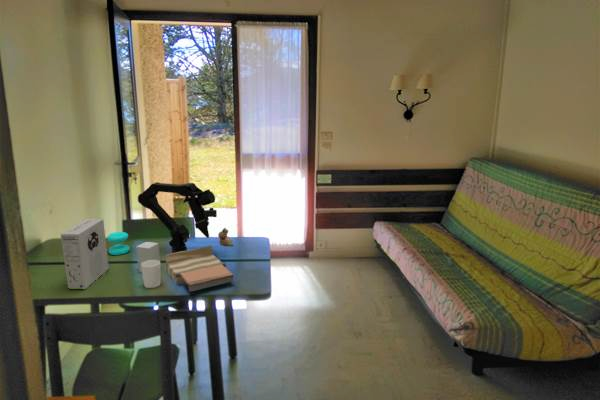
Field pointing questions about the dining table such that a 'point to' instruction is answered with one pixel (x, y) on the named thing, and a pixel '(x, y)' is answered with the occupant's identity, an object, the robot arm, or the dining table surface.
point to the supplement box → (147, 253)
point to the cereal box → (85, 253)
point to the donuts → (118, 248)
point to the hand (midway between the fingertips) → (208, 237)
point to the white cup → (151, 273)
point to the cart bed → (190, 262)
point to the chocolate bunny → (225, 238)
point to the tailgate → (207, 277)
